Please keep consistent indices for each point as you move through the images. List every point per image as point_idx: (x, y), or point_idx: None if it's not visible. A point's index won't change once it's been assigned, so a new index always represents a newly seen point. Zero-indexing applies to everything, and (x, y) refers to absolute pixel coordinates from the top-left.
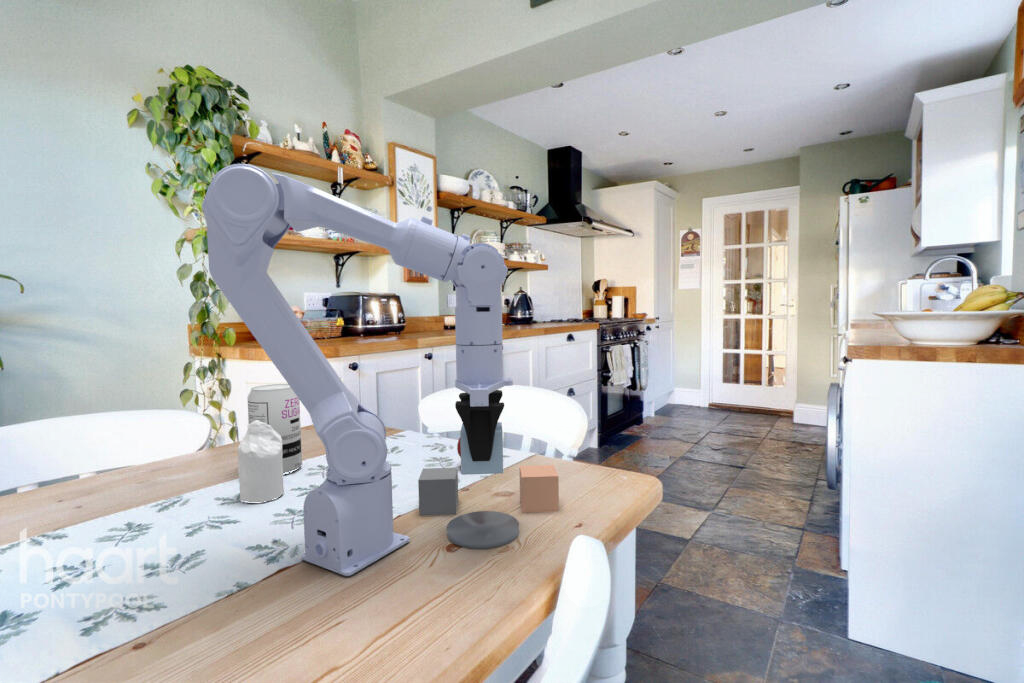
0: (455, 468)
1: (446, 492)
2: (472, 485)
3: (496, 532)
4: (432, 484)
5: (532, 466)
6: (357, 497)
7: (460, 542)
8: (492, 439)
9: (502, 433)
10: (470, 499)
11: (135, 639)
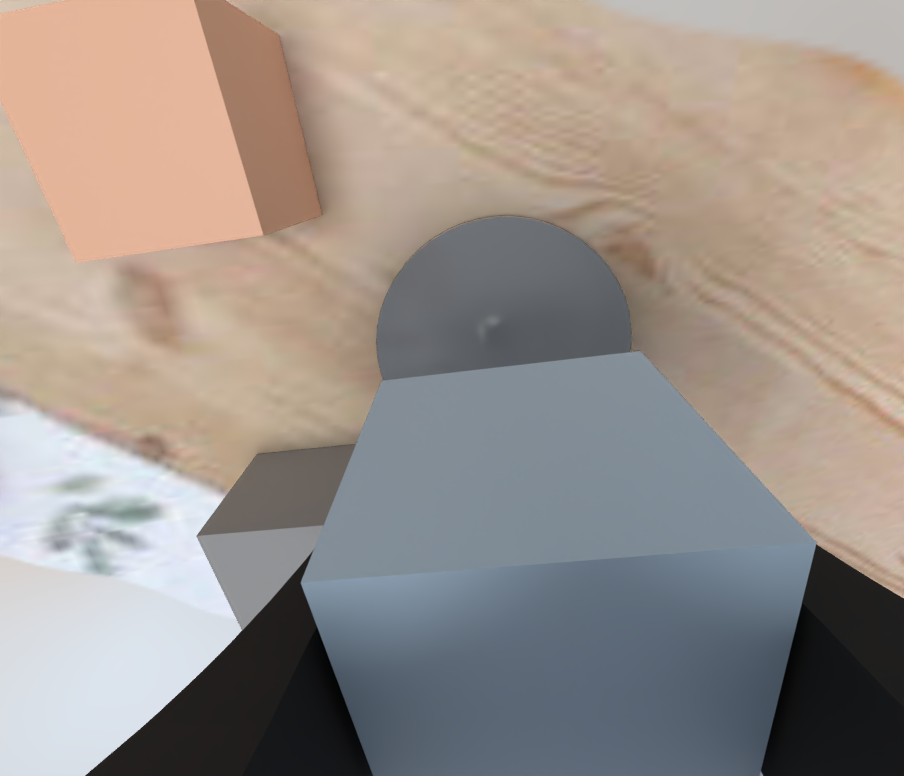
0: (213, 540)
1: None
2: (107, 430)
3: (561, 299)
4: None
5: (56, 180)
6: (761, 773)
7: None
8: (858, 579)
9: (799, 530)
10: (239, 418)
11: None
